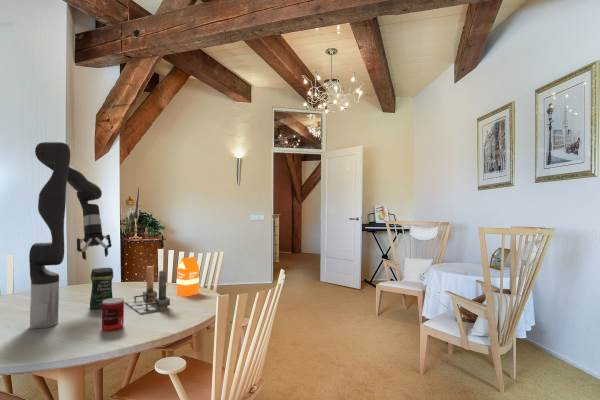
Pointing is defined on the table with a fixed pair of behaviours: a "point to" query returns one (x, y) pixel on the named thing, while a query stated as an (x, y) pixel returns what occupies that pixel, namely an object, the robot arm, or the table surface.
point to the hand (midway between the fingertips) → (95, 258)
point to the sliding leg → (149, 285)
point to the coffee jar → (101, 286)
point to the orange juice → (187, 277)
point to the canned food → (112, 314)
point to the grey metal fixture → (152, 299)
